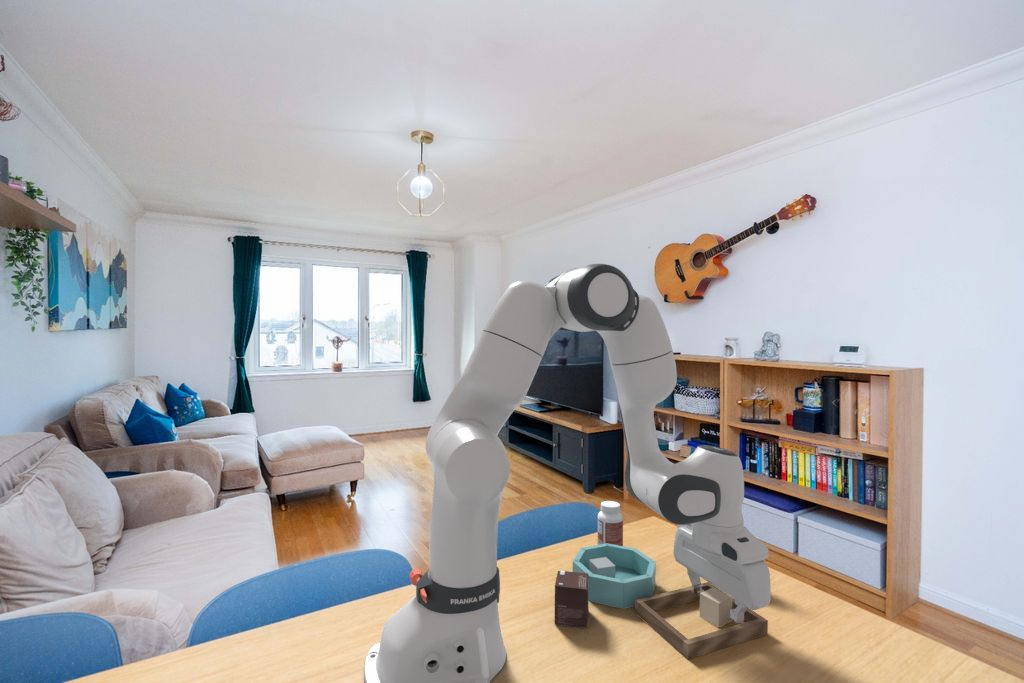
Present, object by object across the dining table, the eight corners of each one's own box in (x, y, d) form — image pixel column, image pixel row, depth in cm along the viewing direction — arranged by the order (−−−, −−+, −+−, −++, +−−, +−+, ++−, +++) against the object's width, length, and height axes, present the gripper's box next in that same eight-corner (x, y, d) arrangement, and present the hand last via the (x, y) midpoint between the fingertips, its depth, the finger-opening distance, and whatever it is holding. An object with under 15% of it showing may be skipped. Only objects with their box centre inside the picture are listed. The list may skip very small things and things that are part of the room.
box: (587, 629, 86) (587, 589, 86) (553, 625, 87) (554, 585, 87) (588, 610, 92) (589, 572, 92) (557, 606, 93) (557, 569, 93)
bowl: (602, 614, 90) (602, 587, 90) (561, 573, 105) (562, 551, 105) (670, 597, 97) (671, 572, 96) (623, 561, 112) (623, 540, 111)
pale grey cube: (597, 590, 97) (598, 568, 97) (588, 580, 101) (589, 559, 101) (615, 587, 99) (615, 565, 98) (605, 577, 102) (605, 557, 102)
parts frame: (687, 659, 78) (687, 644, 78) (634, 612, 91) (635, 599, 91) (767, 634, 85) (767, 620, 85) (708, 594, 98) (708, 582, 98)
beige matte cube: (718, 628, 87) (718, 603, 87) (699, 616, 90) (699, 593, 90) (731, 621, 89) (732, 597, 89) (712, 610, 92) (713, 587, 92)
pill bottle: (626, 547, 119) (627, 503, 119) (616, 556, 114) (616, 510, 114) (604, 540, 123) (604, 497, 122) (592, 549, 118) (593, 504, 118)
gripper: (666, 515, 98) (665, 582, 98) (749, 560, 79) (748, 643, 79) (690, 511, 100) (689, 576, 100) (777, 553, 81) (776, 634, 81)
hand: (716, 606), depth 89 cm, fingers open, 8 cm apart
